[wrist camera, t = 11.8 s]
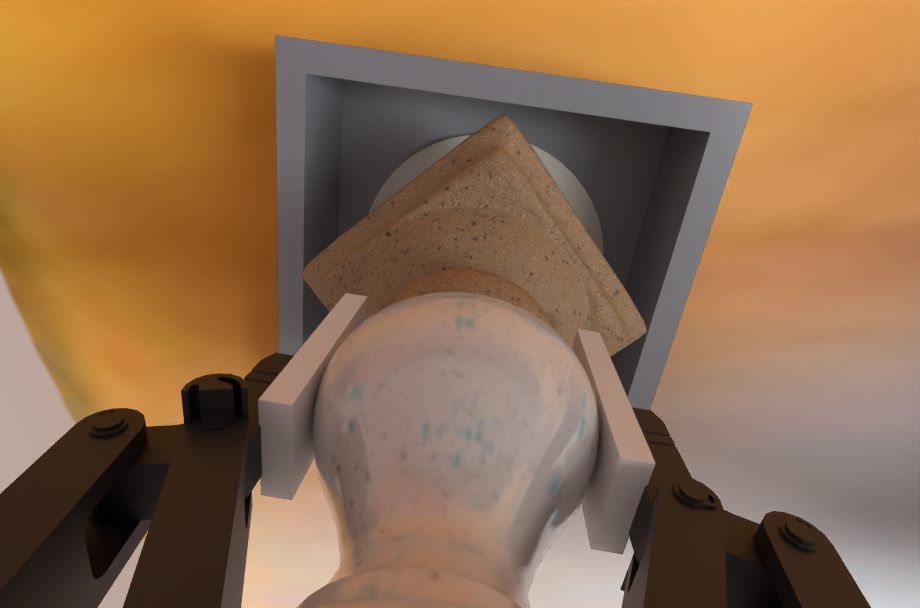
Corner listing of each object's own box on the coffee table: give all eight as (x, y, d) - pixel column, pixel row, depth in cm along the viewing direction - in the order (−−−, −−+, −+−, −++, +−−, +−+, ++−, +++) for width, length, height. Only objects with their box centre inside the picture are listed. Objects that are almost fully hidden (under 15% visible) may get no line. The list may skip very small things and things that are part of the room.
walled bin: (695, 103, 24) (752, 103, 18) (603, 414, 31) (625, 481, 26) (326, 50, 24) (275, 35, 19) (318, 369, 32) (279, 425, 26)
